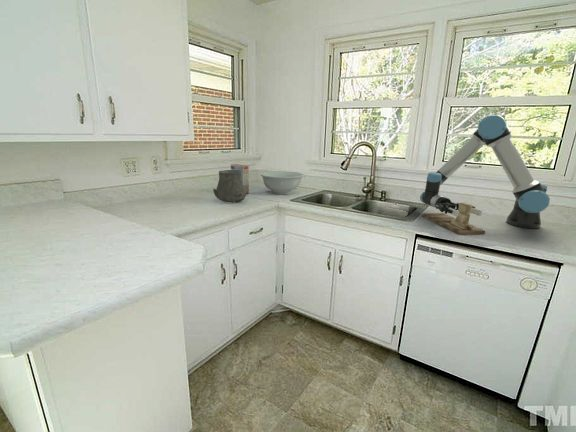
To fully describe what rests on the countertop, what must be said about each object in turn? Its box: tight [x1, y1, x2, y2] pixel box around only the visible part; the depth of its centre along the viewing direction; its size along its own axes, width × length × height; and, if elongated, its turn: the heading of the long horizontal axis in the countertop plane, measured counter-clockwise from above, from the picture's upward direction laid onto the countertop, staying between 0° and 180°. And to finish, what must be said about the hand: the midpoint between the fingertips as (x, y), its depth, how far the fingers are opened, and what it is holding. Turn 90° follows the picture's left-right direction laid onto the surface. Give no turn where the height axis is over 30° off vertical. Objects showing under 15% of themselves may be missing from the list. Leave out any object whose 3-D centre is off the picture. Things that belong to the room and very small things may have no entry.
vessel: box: [212, 169, 247, 203], centre depth 190 cm, size 22×22×20 cm
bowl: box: [260, 170, 304, 195], centre depth 222 cm, size 32×32×15 cm
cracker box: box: [230, 163, 250, 195], centre depth 216 cm, size 14×6×21 cm, turn 49°
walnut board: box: [420, 212, 486, 236], centre depth 158 cm, size 32×14×2 cm, turn 9°
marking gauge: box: [451, 202, 474, 229], centre depth 148 cm, size 5×11×12 cm, turn 9°
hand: (469, 213), depth 145 cm, fingers open, 12 cm apart
